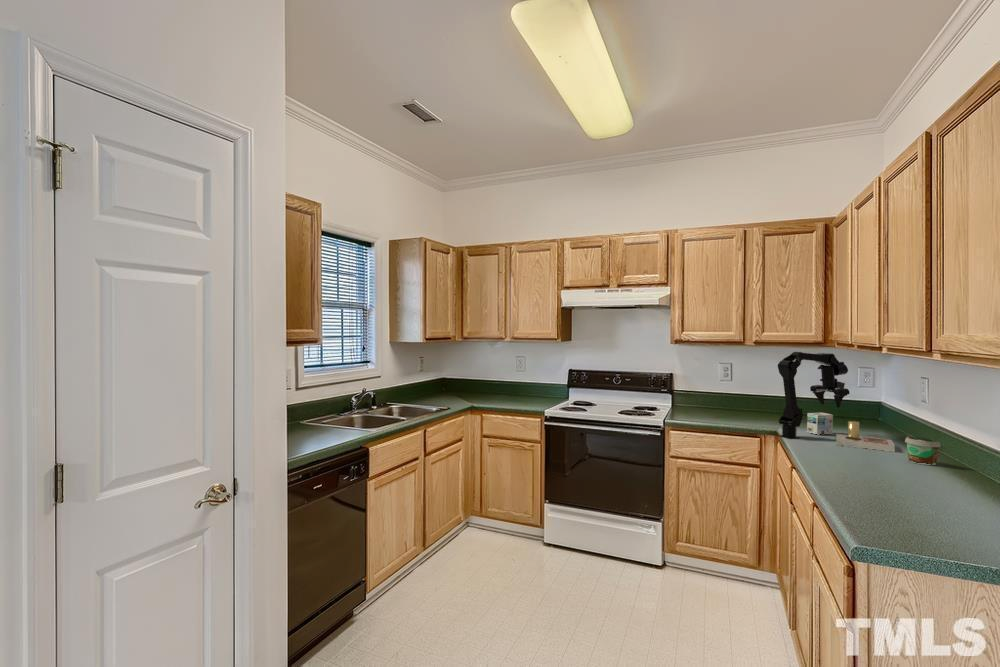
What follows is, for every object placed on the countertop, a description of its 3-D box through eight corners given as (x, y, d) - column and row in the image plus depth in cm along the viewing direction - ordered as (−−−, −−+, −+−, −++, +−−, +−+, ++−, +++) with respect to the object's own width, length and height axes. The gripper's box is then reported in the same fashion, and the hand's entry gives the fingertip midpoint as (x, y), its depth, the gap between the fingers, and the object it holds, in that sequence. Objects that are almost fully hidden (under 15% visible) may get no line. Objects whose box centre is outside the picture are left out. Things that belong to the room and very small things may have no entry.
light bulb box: (817, 435, 262) (817, 415, 262) (806, 432, 268) (806, 412, 268) (833, 434, 265) (833, 414, 264) (821, 431, 271) (822, 412, 271)
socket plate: (836, 445, 240) (836, 438, 240) (836, 439, 252) (836, 433, 252) (894, 452, 228) (894, 444, 228) (891, 446, 240) (891, 439, 239)
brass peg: (855, 446, 239) (855, 423, 239) (845, 443, 243) (846, 421, 243) (860, 445, 241) (861, 422, 241) (851, 443, 245) (851, 420, 245)
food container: (897, 459, 214) (898, 436, 214) (906, 458, 217) (907, 435, 217) (930, 467, 203) (931, 443, 203) (940, 466, 205) (940, 442, 205)
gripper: (856, 376, 255) (859, 406, 256) (824, 373, 273) (827, 401, 274) (839, 379, 252) (841, 410, 253) (808, 375, 271) (810, 404, 271)
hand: (830, 406), depth 263 cm, fingers open, 9 cm apart
